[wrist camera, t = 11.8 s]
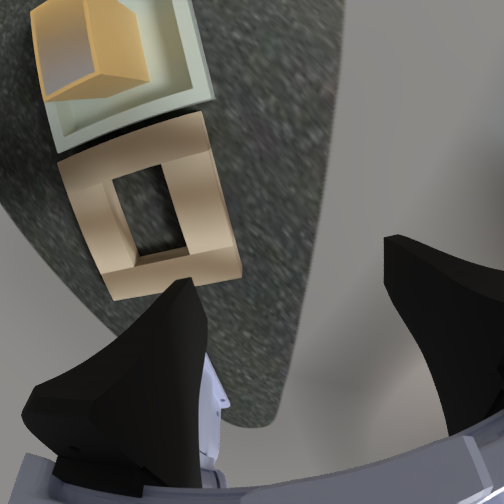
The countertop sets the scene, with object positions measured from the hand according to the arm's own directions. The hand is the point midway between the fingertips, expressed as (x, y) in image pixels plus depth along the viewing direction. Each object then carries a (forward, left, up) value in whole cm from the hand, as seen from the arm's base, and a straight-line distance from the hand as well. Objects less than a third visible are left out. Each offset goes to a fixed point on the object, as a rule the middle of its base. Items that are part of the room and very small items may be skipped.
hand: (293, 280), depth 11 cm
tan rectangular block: (+12, +7, -9) cm, 17 cm away
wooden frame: (+1, +8, -10) cm, 13 cm away
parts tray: (+12, +7, -10) cm, 17 cm away
